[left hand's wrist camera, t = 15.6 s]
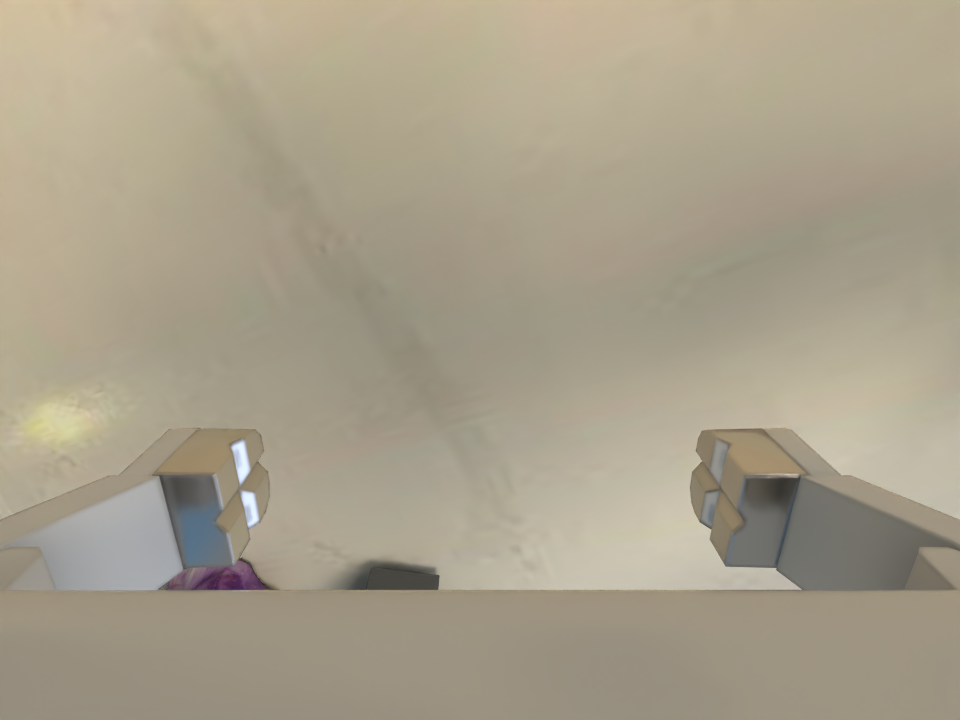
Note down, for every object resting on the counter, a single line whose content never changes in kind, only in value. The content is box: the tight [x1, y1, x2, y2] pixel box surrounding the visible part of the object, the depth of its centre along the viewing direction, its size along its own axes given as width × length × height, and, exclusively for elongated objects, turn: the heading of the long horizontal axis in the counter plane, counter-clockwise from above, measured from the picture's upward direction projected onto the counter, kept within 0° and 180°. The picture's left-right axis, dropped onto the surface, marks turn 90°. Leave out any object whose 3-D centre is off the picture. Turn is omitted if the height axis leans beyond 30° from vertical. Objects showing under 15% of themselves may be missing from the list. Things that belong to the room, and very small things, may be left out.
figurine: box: [167, 559, 269, 590], centre depth 44 cm, size 9×10×15 cm
